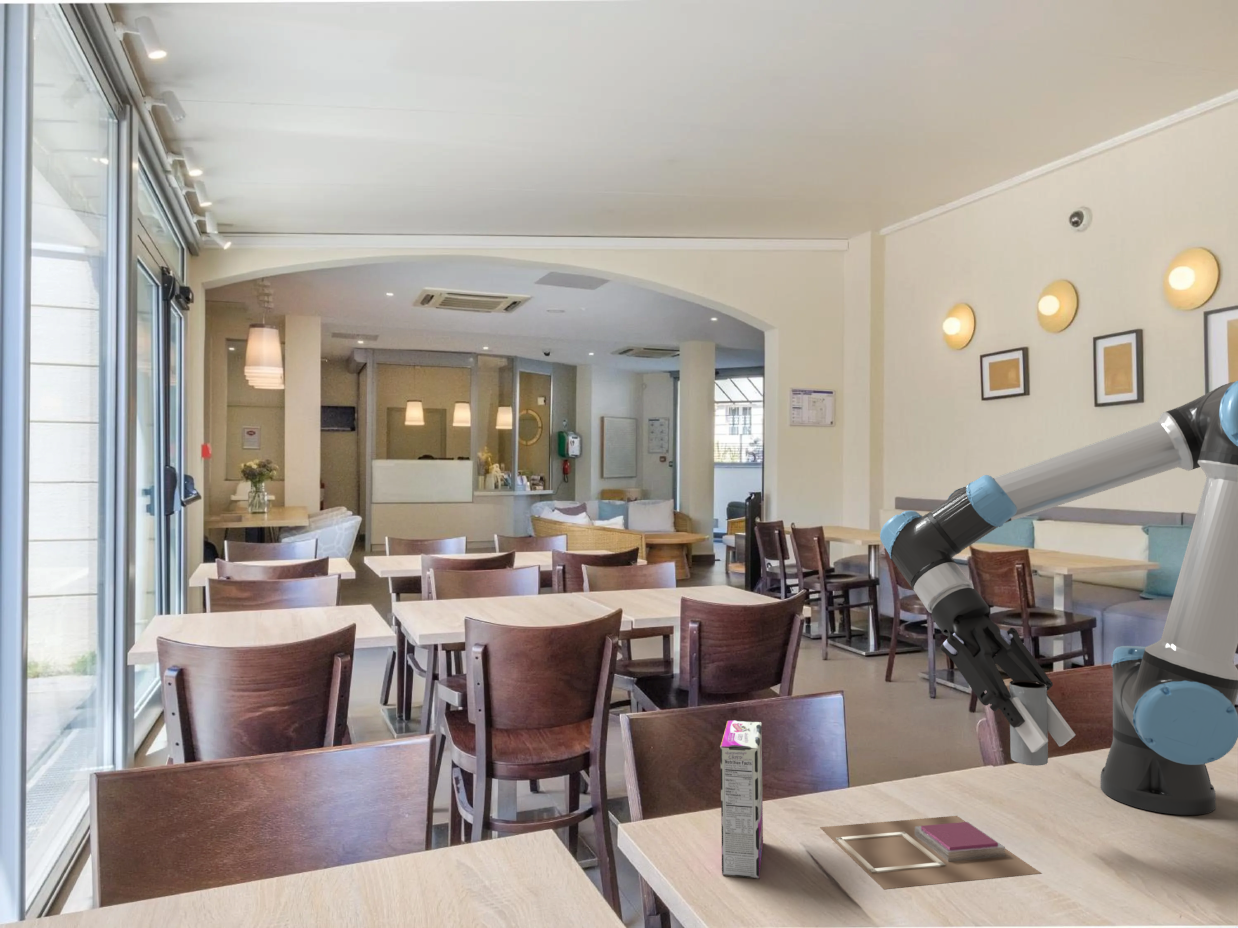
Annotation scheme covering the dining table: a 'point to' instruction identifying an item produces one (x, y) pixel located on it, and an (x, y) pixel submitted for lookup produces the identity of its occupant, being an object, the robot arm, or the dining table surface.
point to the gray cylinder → (1036, 705)
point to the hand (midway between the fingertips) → (1053, 743)
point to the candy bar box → (741, 799)
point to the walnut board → (915, 855)
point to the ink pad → (959, 841)
